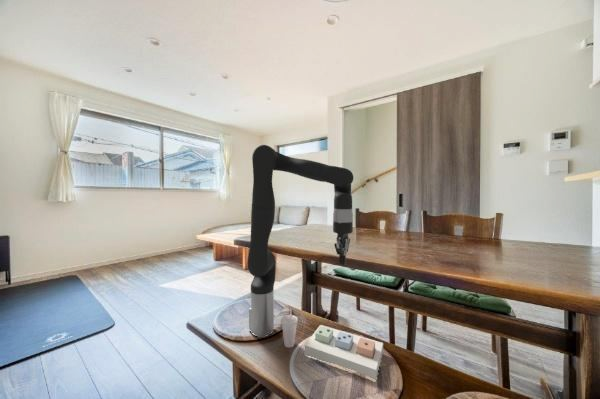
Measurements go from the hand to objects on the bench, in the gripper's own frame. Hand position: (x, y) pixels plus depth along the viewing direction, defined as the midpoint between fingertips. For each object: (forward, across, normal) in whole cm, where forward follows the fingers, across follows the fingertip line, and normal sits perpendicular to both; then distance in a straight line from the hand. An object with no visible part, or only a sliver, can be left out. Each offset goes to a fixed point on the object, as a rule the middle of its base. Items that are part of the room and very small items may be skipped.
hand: (342, 264), depth 91 cm
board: (+29, +10, +4) cm, 31 cm away
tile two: (+28, +10, -3) cm, 30 cm away
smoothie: (+29, +14, -16) cm, 36 cm away
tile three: (+28, +10, +4) cm, 30 cm away
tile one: (+28, +10, +11) cm, 32 cm away
